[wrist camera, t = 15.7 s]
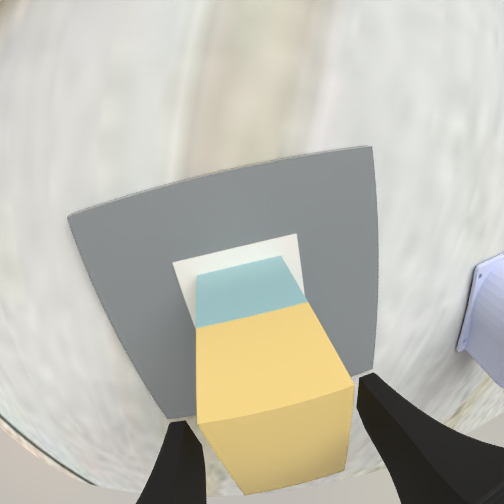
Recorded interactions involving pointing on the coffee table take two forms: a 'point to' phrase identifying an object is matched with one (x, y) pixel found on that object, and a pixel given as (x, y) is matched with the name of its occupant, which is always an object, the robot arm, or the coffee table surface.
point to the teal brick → (245, 291)
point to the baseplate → (235, 257)
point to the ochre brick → (273, 398)
